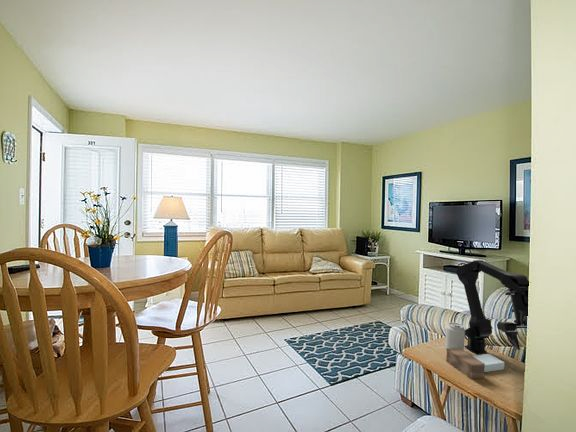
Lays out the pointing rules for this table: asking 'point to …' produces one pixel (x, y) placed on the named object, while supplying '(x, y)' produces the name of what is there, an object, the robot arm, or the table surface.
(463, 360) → the wooden block
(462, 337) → the can
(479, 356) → the panel
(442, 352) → the table surface
